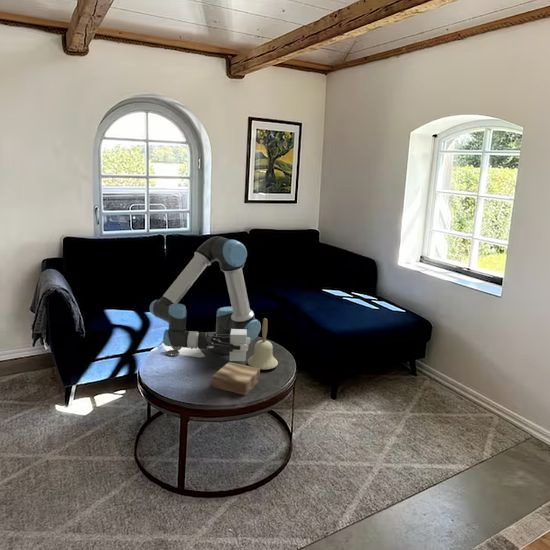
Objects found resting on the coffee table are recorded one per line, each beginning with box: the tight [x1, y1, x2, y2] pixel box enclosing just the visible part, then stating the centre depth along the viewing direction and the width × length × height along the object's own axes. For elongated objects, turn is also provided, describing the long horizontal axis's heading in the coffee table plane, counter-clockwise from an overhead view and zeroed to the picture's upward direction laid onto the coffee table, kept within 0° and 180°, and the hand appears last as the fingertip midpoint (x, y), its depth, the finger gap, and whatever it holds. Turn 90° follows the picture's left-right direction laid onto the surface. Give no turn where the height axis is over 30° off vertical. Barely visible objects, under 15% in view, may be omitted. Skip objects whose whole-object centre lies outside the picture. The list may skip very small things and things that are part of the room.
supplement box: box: [229, 329, 247, 362], centre depth 221 cm, size 7×7×13 cm
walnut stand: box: [212, 361, 261, 396], centre depth 225 cm, size 16×16×6 cm
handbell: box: [247, 317, 279, 370], centre depth 244 cm, size 15×15×25 cm
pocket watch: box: [166, 347, 183, 357], centre depth 253 cm, size 8×8×10 cm
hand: (249, 344), depth 221 cm, fingers closed on supplement box, 8 cm apart
